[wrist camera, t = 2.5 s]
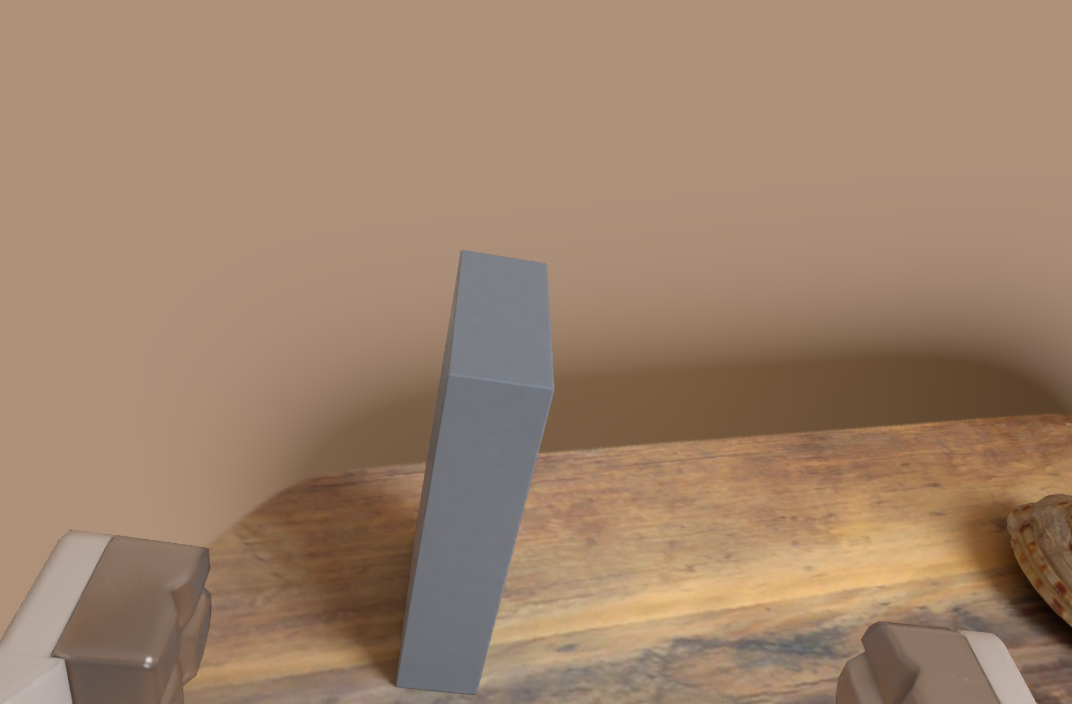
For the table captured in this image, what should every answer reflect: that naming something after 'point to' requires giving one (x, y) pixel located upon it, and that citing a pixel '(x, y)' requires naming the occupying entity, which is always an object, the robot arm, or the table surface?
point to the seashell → (1046, 549)
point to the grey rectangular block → (477, 468)
